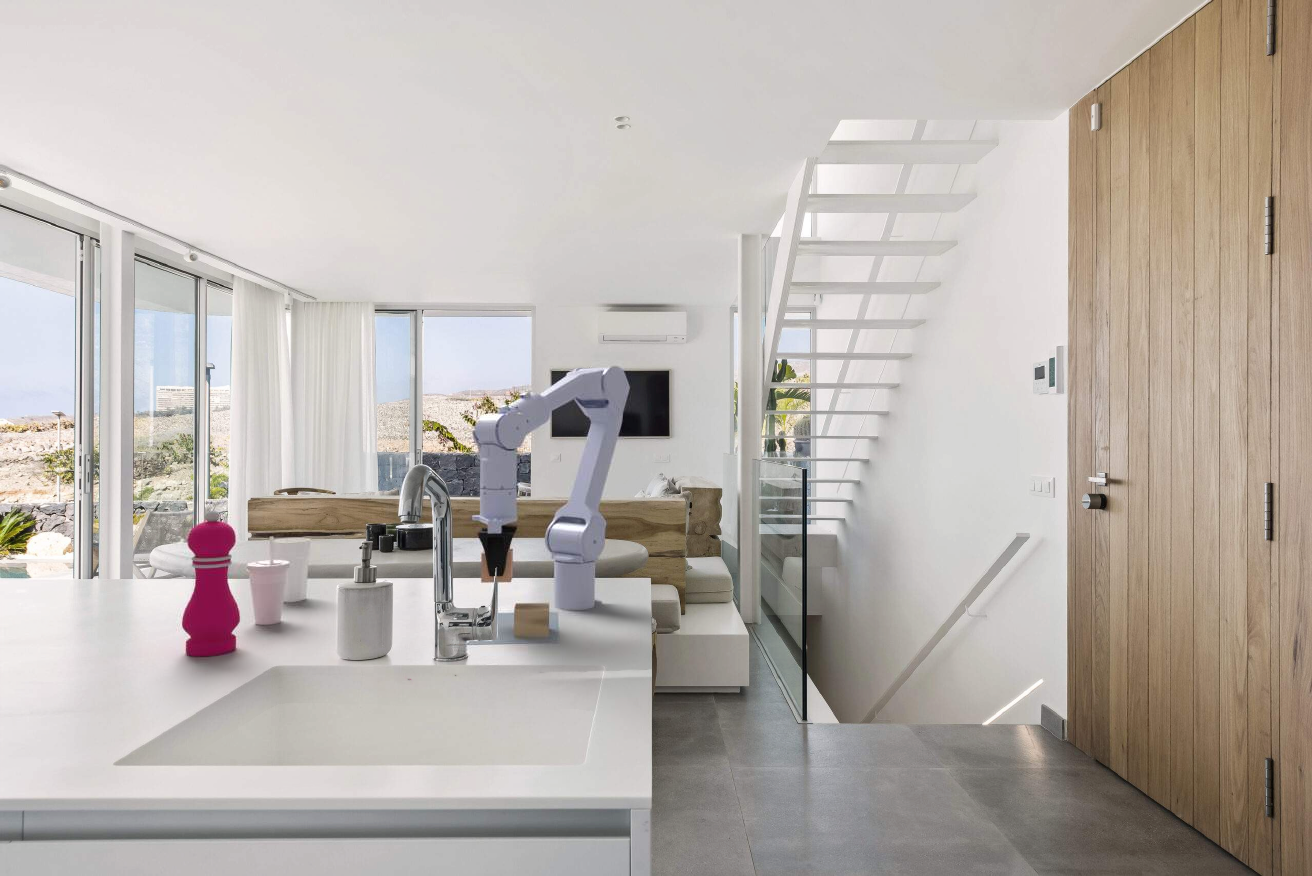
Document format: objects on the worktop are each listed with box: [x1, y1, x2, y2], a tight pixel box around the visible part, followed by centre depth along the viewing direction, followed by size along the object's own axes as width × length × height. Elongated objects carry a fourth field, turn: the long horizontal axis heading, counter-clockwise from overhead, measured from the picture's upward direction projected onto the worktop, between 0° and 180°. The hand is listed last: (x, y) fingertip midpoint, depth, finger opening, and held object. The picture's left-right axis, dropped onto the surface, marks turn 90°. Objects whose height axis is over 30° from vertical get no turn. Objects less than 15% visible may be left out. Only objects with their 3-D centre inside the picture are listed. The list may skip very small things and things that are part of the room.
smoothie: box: [246, 536, 290, 626], centre depth 131 cm, size 6×6×14 cm
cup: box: [273, 537, 311, 603], centre depth 149 cm, size 7×7×11 cm
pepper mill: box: [181, 509, 241, 658], centre depth 114 cm, size 7×7×20 cm
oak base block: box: [513, 602, 550, 638], centre depth 123 cm, size 5×5×4 cm
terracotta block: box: [480, 548, 514, 584], centre depth 128 cm, size 5×5×5 cm
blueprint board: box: [466, 611, 560, 646], centre depth 126 cm, size 20×16×1 cm
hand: (497, 573), depth 128 cm, fingers closed on terracotta block, 5 cm apart
